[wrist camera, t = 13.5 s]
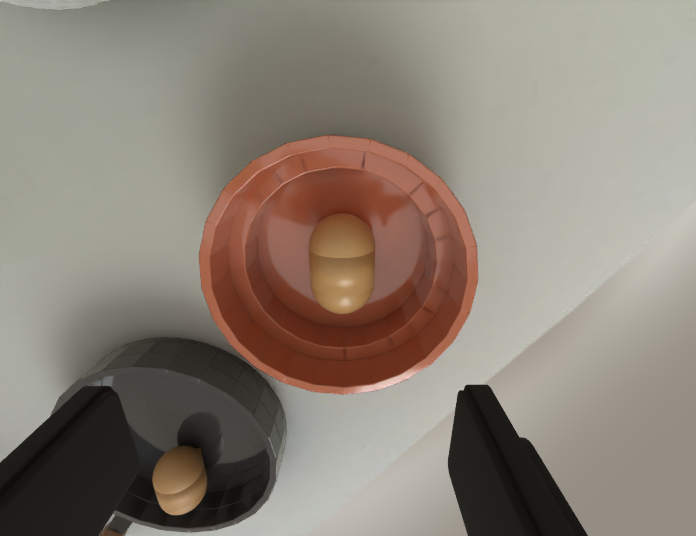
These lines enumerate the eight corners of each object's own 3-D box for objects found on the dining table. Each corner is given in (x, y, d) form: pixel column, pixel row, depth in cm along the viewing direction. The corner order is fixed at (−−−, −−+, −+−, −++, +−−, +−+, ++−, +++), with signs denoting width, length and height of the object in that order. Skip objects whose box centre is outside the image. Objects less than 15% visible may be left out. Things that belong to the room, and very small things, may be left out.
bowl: (195, 199, 23) (142, 217, 17) (401, 93, 20) (418, 73, 14) (299, 365, 27) (284, 423, 22) (476, 298, 25) (511, 344, 19)
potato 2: (311, 207, 22) (301, 221, 18) (374, 207, 22) (378, 222, 18) (315, 296, 24) (307, 325, 20) (372, 296, 24) (374, 326, 20)
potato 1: (164, 434, 30) (136, 476, 26) (207, 435, 30) (186, 477, 26) (176, 480, 32) (153, 525, 28) (217, 481, 32) (198, 526, 28)
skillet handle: (127, 493, 31) (112, 516, 29) (147, 502, 31) (133, 525, 29) (93, 544, 34) (77, 568, 32) (111, 552, 34) (97, 576, 32)
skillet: (42, 381, 29) (-2, 414, 25) (215, 305, 26) (192, 331, 22) (166, 509, 34) (144, 551, 31) (320, 460, 31) (316, 501, 28)
